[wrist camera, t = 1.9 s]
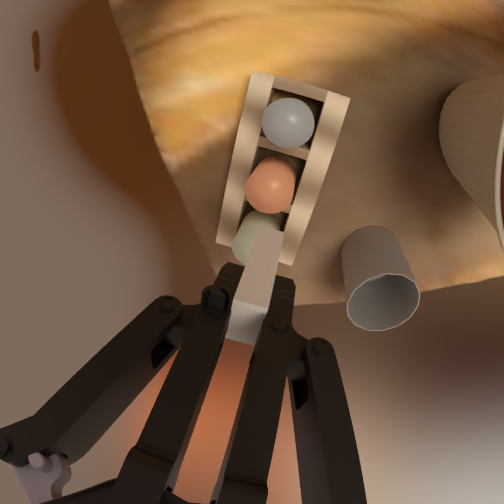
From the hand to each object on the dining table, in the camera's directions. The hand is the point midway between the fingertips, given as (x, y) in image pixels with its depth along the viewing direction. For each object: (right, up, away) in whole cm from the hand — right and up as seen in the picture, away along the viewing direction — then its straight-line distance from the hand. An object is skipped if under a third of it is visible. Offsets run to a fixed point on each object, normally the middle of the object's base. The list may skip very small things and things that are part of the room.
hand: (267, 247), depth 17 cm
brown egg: (+2, +8, +11) cm, 14 cm away
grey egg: (+3, +13, +8) cm, 15 cm away
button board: (+2, +9, +14) cm, 17 cm away
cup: (+15, 0, +17) cm, 23 cm away
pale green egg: (0, +3, +15) cm, 15 cm away
